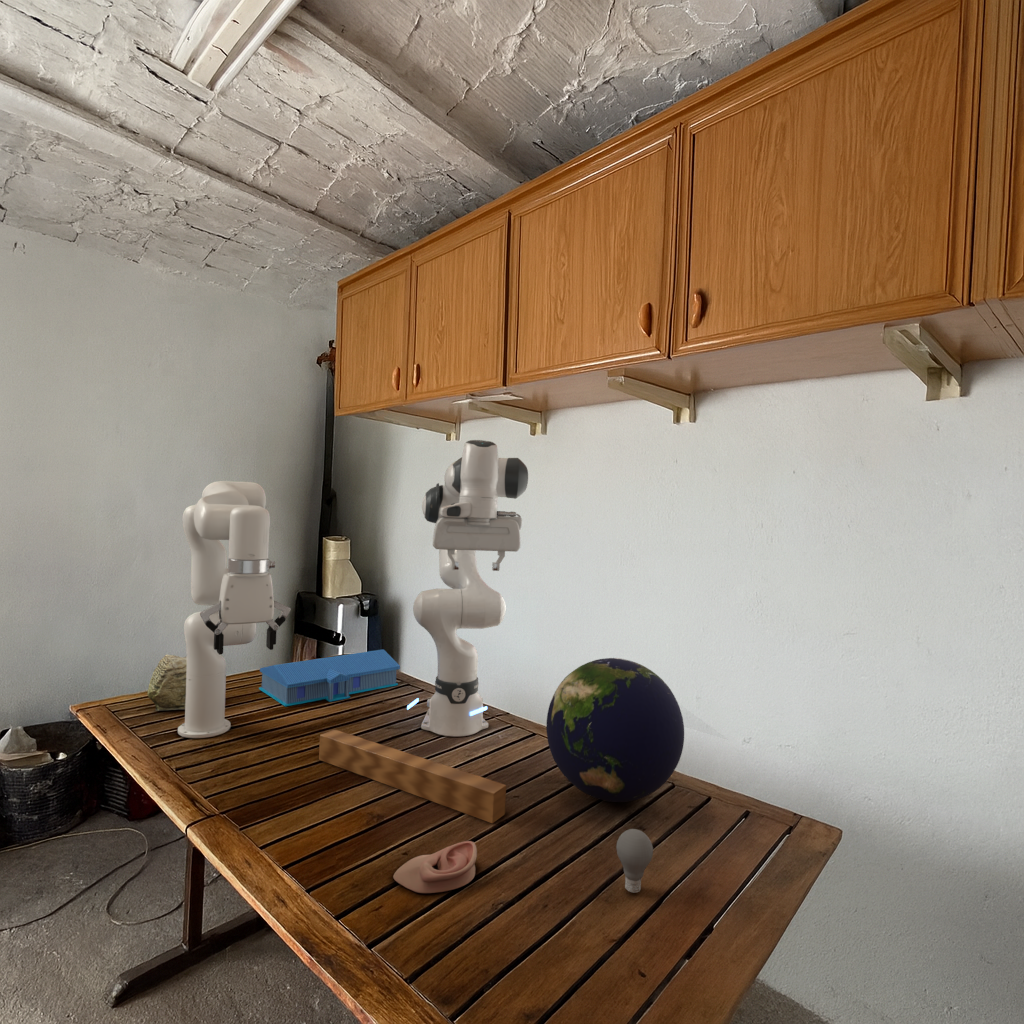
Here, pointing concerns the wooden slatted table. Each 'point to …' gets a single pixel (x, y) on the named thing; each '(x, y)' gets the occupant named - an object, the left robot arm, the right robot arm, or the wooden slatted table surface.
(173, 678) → the fossil
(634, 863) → the light bulb
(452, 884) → the anatomical model
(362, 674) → the model building
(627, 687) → the globe
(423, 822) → the wooden slatted table surface
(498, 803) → the bar
